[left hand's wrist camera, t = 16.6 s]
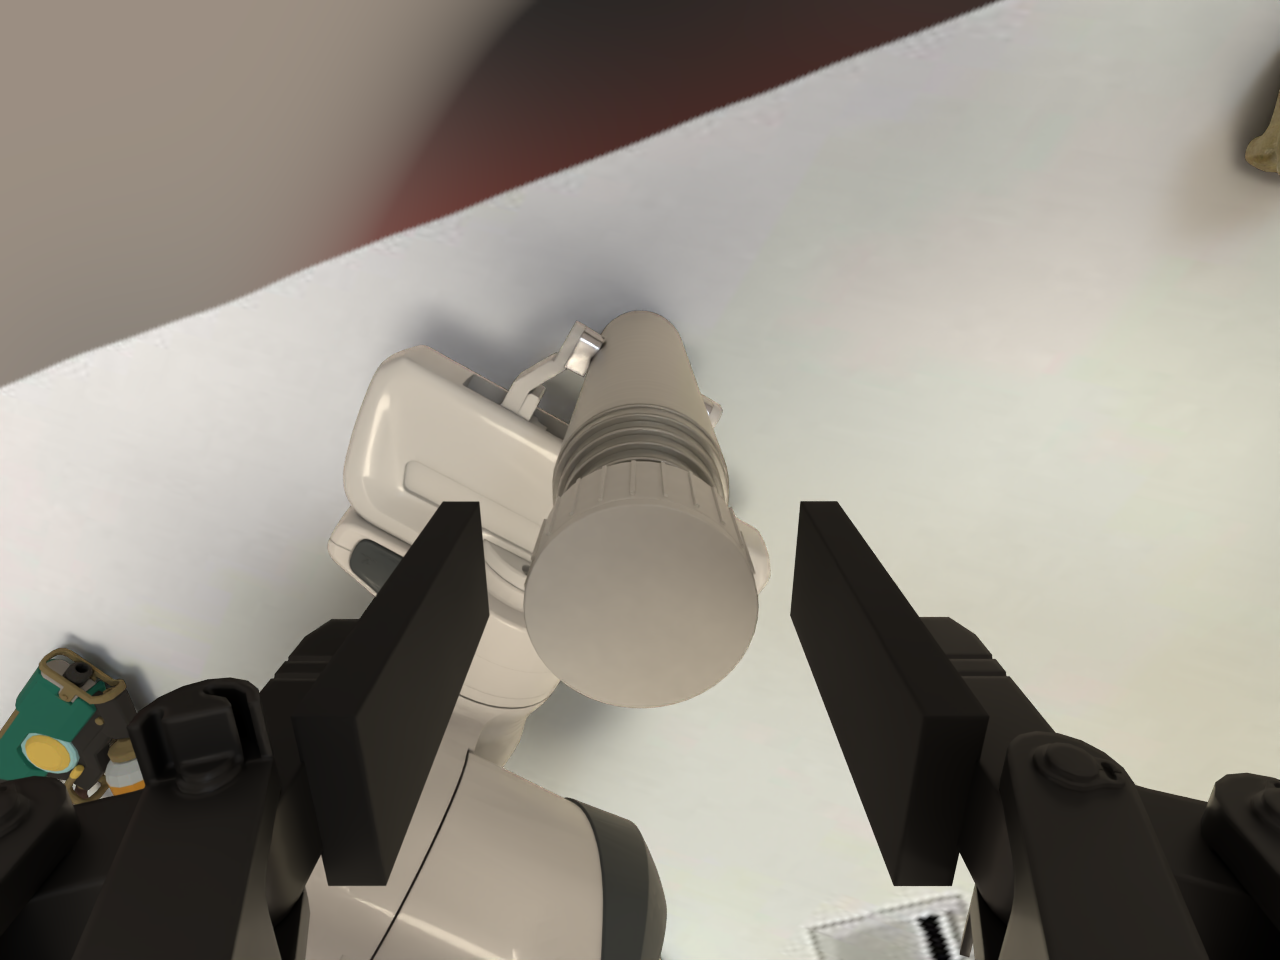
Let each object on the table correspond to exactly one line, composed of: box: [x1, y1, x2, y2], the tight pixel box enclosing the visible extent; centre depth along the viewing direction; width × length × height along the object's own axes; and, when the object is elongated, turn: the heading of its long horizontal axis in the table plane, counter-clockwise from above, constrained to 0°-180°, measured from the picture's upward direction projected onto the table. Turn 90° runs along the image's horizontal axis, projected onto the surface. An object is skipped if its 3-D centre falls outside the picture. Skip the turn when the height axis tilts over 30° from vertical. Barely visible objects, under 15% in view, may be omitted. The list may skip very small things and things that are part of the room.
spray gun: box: [0, 648, 145, 804], centre depth 45 cm, size 4×17×15 cm
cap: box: [523, 460, 758, 708], centre depth 14 cm, size 4×4×2 cm
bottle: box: [552, 311, 729, 507], centre depth 25 cm, size 5×5×26 cm
